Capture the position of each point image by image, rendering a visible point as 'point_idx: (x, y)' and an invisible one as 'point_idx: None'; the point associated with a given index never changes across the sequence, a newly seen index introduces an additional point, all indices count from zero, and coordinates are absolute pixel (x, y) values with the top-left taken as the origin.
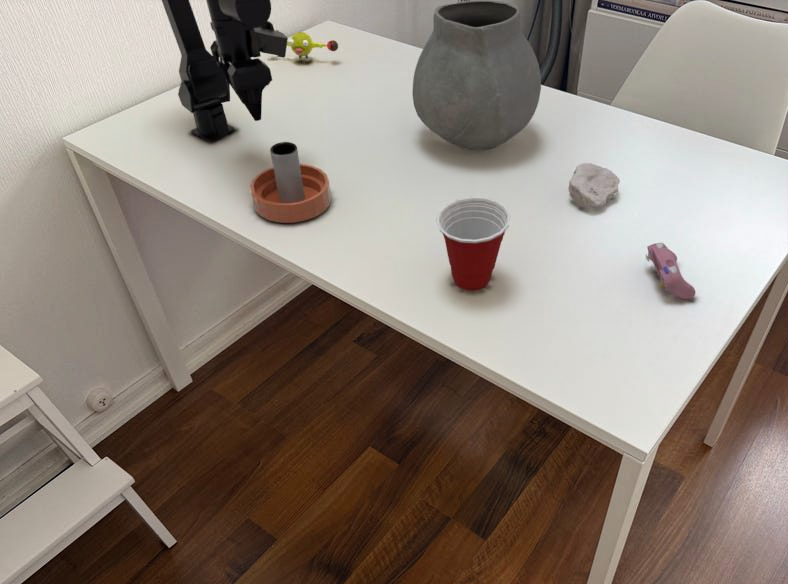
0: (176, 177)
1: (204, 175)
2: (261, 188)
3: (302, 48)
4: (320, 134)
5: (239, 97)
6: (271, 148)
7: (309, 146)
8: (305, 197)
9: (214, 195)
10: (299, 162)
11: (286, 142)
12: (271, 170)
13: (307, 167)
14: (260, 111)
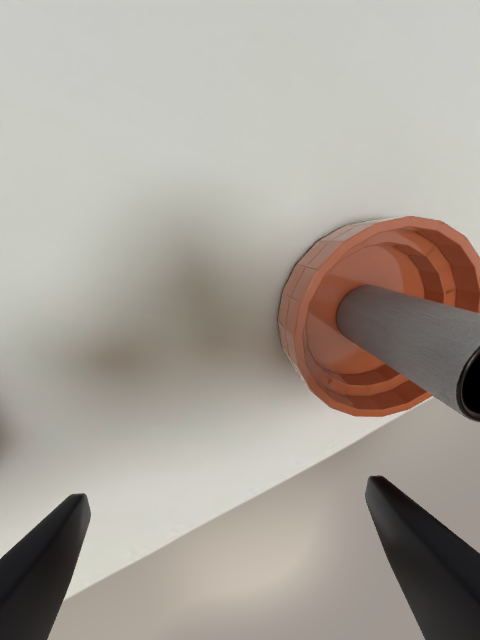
0: (152, 510)
1: (164, 463)
2: (326, 379)
3: None
4: (8, 107)
5: (71, 570)
6: (477, 418)
7: (94, 182)
8: (364, 282)
9: (253, 450)
10: (467, 310)
11: (473, 358)
12: (304, 356)
13: (340, 257)
14: (430, 519)
